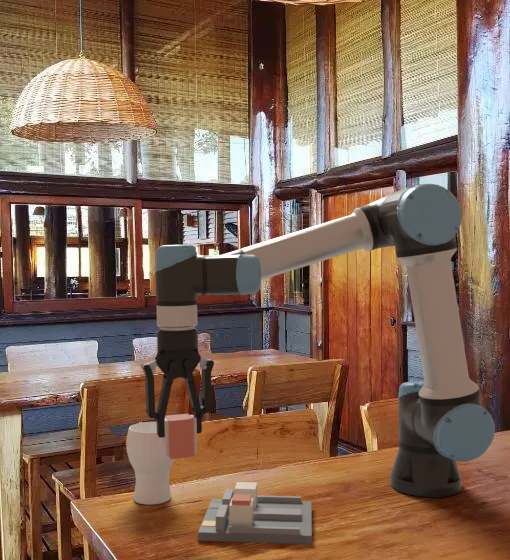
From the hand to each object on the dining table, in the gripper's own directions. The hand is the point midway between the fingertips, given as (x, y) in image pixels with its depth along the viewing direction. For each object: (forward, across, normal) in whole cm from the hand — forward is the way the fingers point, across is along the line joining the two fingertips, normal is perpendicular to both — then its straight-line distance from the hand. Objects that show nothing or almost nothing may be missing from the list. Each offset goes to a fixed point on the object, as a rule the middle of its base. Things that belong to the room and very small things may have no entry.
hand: (179, 452), depth 127 cm
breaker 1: (+12, -13, -1) cm, 18 cm away
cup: (+14, +2, -16) cm, 21 cm away
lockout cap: (0, 0, 0) cm, 0 cm away
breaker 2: (+12, -9, +7) cm, 17 cm away
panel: (+14, -13, +4) cm, 19 cm away
